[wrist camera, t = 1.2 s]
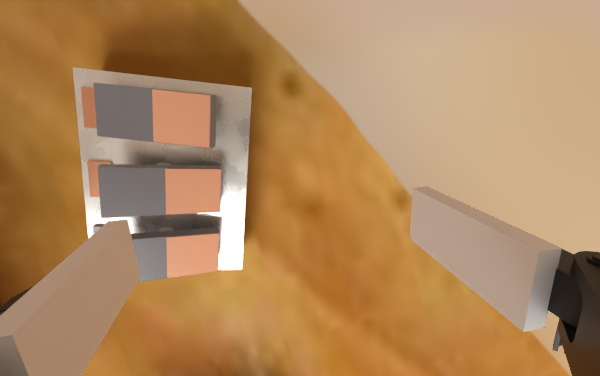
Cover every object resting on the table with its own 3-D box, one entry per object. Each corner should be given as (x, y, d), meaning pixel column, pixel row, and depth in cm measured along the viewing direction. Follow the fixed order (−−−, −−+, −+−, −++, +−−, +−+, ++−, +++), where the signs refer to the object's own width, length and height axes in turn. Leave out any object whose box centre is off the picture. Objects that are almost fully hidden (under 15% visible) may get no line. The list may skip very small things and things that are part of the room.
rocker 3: (110, 272, 26) (106, 286, 24) (107, 230, 25) (103, 242, 23) (214, 259, 30) (218, 271, 28) (215, 223, 29) (219, 232, 27)
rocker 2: (105, 208, 25) (101, 218, 23) (102, 161, 24) (97, 167, 22) (216, 204, 29) (220, 212, 27) (217, 163, 28) (221, 168, 26)
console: (113, 246, 33) (89, 272, 28) (101, 73, 28) (70, 66, 23) (242, 247, 36) (242, 271, 31) (250, 89, 31) (252, 87, 26)
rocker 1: (116, 133, 25) (96, 136, 23) (113, 84, 24) (92, 82, 22) (219, 145, 25) (209, 148, 23) (220, 95, 24) (210, 94, 22)
